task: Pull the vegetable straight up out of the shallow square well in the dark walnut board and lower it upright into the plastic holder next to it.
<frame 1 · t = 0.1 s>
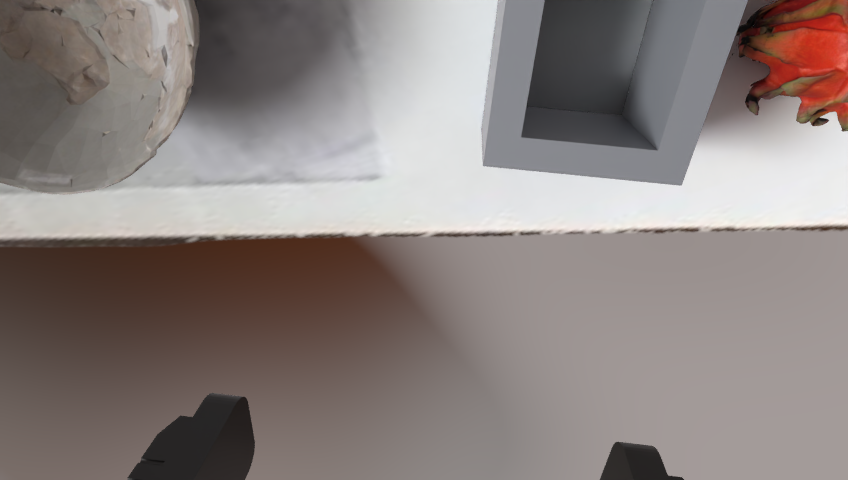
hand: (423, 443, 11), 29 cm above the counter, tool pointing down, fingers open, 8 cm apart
dragon fruit: (797, 44, 32), on the counter
holder: (578, 52, 33), on the counter
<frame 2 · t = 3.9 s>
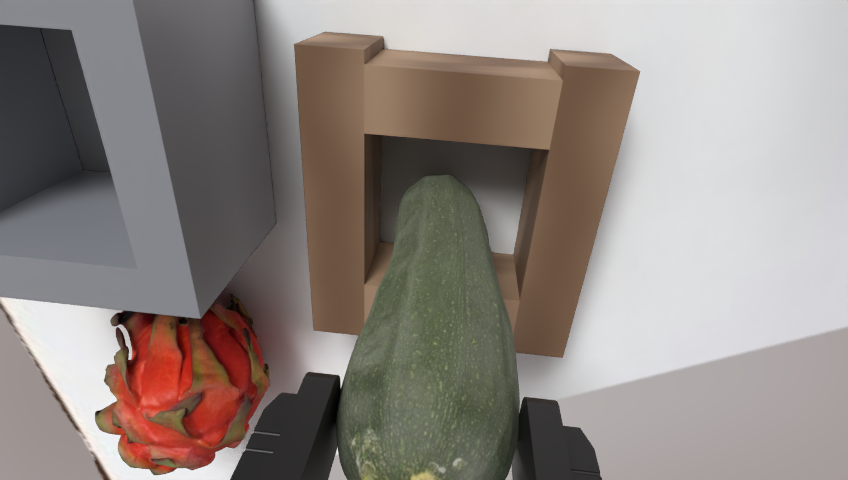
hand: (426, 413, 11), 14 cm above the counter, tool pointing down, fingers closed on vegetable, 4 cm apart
vegetable: (452, 184, 23), on the counter, touching gripper
dragon fruit: (220, 331, 30), on the counter
holder: (139, 97, 23), on the counter
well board: (452, 186, 23), on the counter
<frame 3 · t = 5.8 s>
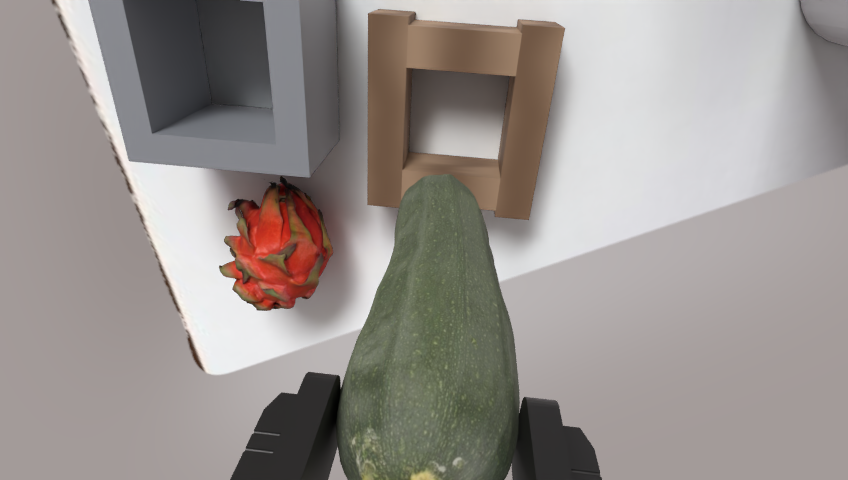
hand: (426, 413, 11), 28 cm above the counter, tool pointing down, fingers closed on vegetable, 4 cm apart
vegetable: (452, 184, 23), point 14 cm above the counter, touching gripper
dragon fruit: (293, 224, 42), on the counter
holder: (256, 53, 35), on the counter
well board: (457, 111, 36), on the counter
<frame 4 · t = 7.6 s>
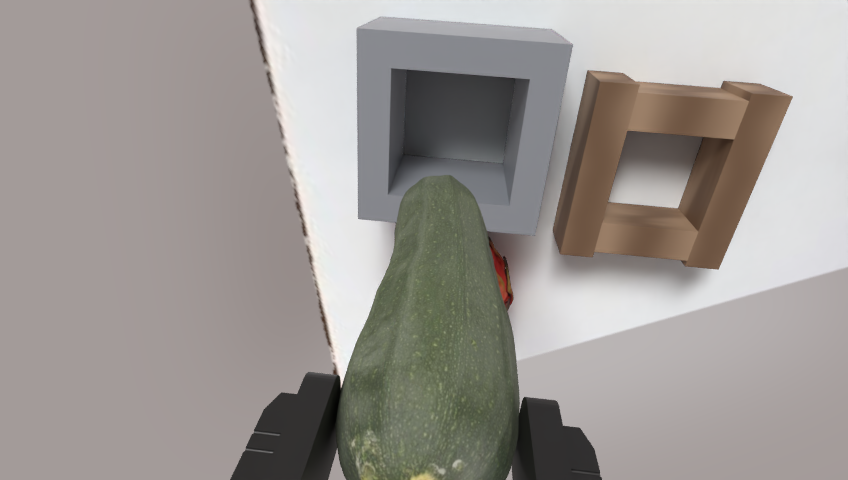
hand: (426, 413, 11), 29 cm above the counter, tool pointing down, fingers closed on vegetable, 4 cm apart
vegetable: (452, 184, 23), point 15 cm above the counter, touching gripper
dragon fruit: (460, 266, 44), on the counter
holder: (457, 109, 36), on the counter
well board: (646, 163, 37), on the counter
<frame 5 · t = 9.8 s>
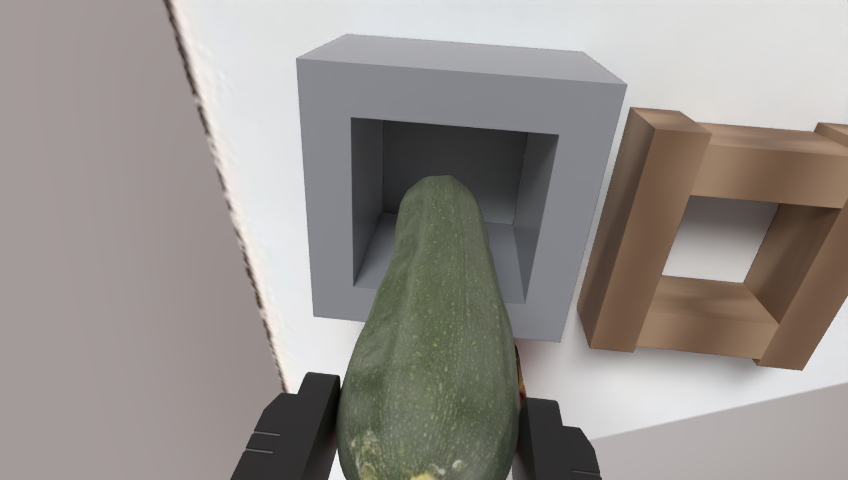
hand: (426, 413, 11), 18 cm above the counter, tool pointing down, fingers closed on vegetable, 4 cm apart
vegetable: (452, 184, 23), point 4 cm above the counter, touching gripper
holder: (452, 156, 27), on the counter
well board: (704, 227, 28), on the counter
when the fingers open (15 cm above the counter, at t = 11.5 s): vegetable drops 1 cm, on the counter.
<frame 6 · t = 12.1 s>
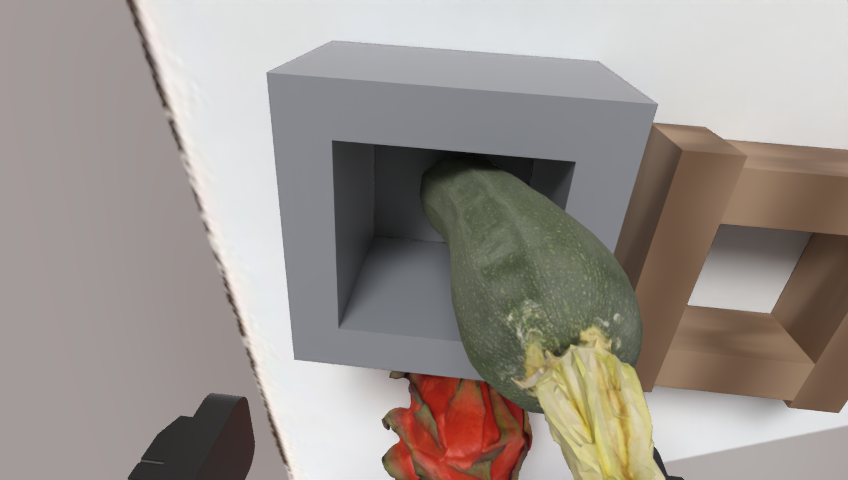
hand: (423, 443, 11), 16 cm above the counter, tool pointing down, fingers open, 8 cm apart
vegetable: (455, 175, 25), on the counter, touching gripper
dragon fruit: (457, 376, 32), on the counter
holder: (451, 175, 25), on the counter
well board: (730, 254, 25), on the counter
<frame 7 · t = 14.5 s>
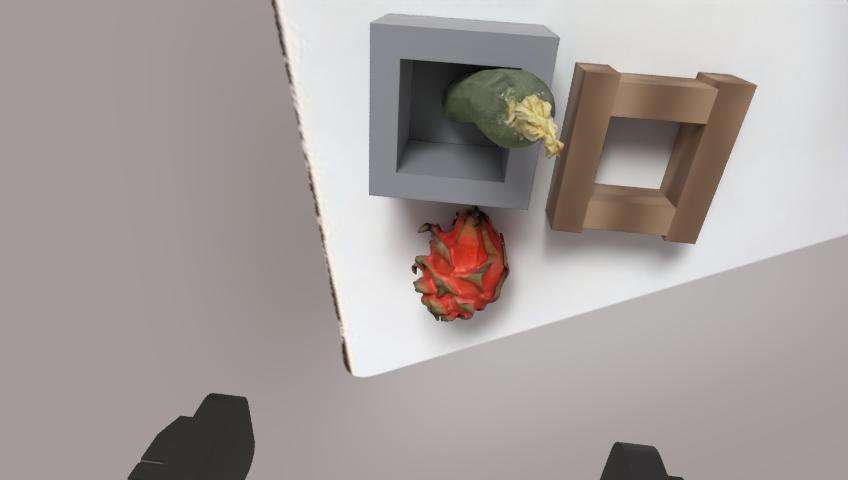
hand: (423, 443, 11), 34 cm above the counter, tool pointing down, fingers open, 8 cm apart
vegetable: (460, 97, 40), on the counter, touching holder
dragon fruit: (461, 244, 47), on the counter
holder: (458, 97, 40), on the counter
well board: (630, 148, 41), on the counter
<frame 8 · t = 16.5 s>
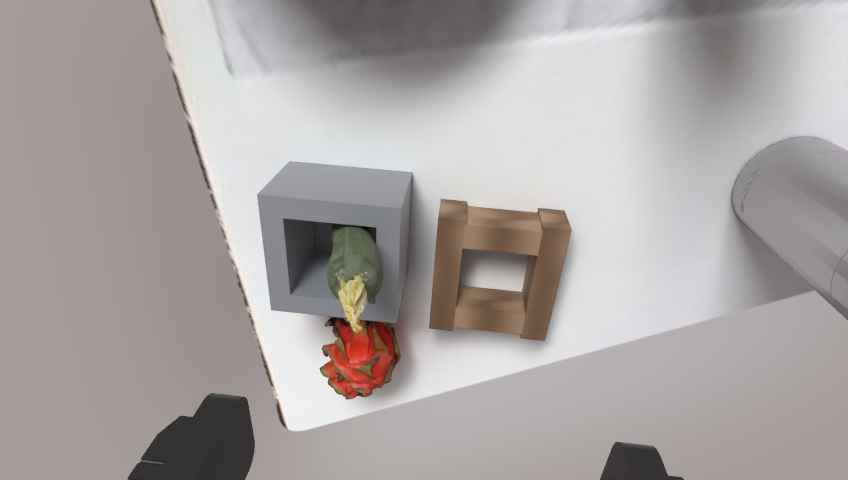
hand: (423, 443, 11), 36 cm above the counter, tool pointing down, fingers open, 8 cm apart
vegetable: (353, 221, 49), on the counter, touching holder
dragon fruit: (367, 329, 56), on the counter
holder: (351, 222, 49), on the counter
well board: (493, 261, 50), on the counter
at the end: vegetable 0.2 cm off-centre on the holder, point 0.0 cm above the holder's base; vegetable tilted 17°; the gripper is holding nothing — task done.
